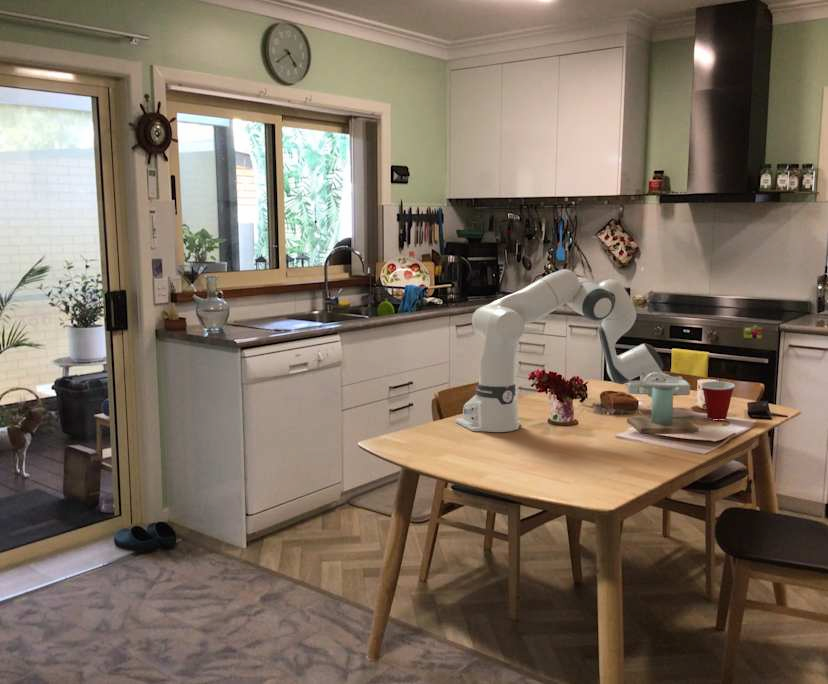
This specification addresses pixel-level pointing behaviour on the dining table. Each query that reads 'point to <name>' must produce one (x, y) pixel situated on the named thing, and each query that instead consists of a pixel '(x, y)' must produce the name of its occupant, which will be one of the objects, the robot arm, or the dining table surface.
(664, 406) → the green tin
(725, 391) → the plastic cup
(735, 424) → the dining table surface
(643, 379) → the robot arm
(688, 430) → the board
